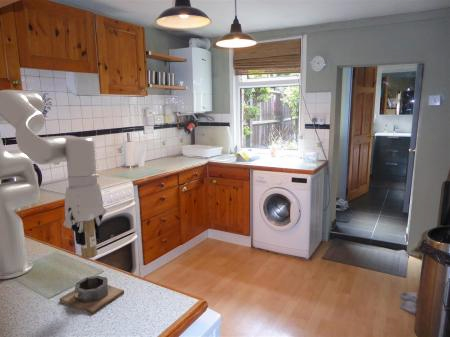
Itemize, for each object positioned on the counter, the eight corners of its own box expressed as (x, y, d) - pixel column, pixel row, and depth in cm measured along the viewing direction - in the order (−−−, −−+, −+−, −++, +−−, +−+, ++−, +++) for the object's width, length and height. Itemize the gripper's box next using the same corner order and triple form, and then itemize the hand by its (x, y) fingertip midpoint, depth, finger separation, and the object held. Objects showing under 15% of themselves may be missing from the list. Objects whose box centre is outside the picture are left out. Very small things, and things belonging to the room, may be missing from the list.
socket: (66, 299, 98) (65, 288, 97) (96, 282, 107) (95, 272, 107) (88, 307, 94) (87, 296, 93) (116, 289, 103) (115, 278, 103)
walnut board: (59, 301, 99) (59, 298, 98) (92, 282, 109) (92, 279, 109) (93, 314, 92) (92, 311, 92) (124, 293, 103) (123, 290, 103)
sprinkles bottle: (99, 256, 98) (95, 213, 95) (82, 260, 95) (78, 216, 93) (95, 251, 101) (92, 209, 99) (79, 255, 99) (75, 211, 97)
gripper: (97, 174, 103) (101, 229, 107) (47, 185, 89) (53, 249, 92) (114, 176, 100) (118, 233, 103) (66, 188, 85) (72, 254, 88)
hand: (88, 240), depth 97 cm, fingers closed on sprinkles bottle, 4 cm apart
